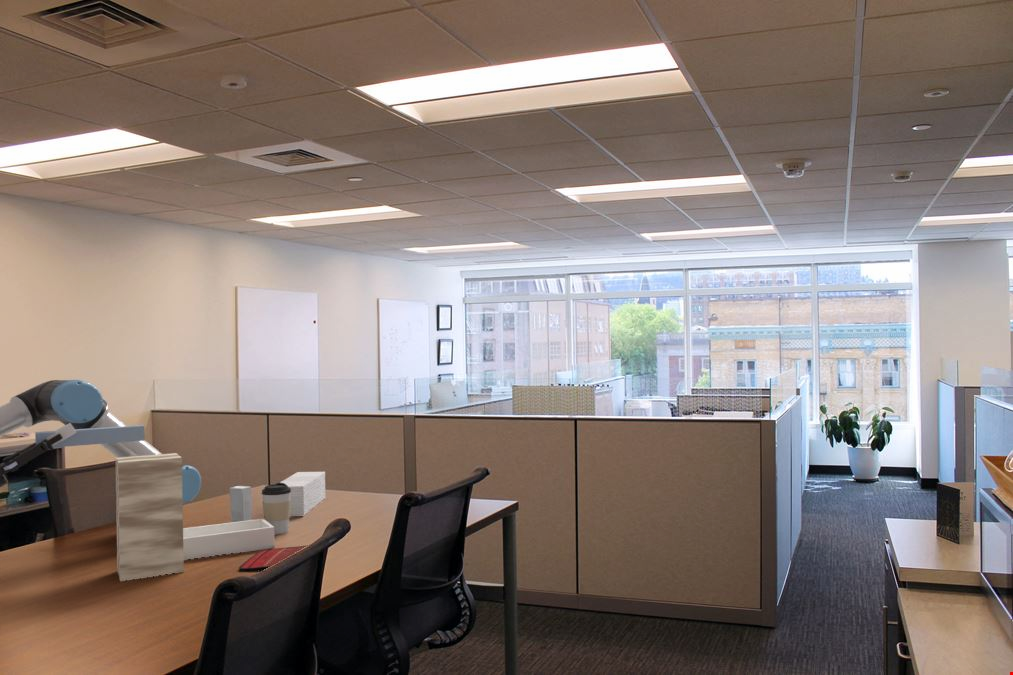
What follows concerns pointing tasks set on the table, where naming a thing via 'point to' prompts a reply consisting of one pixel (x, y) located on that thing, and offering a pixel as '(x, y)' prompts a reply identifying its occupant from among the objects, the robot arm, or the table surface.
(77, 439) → the block
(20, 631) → the table surface
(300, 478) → the stack of papers
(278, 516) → the coffee cup
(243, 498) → the skincare box
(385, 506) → the table surface
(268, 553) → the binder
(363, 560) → the table surface
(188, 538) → the tray
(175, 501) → the beige tall box
